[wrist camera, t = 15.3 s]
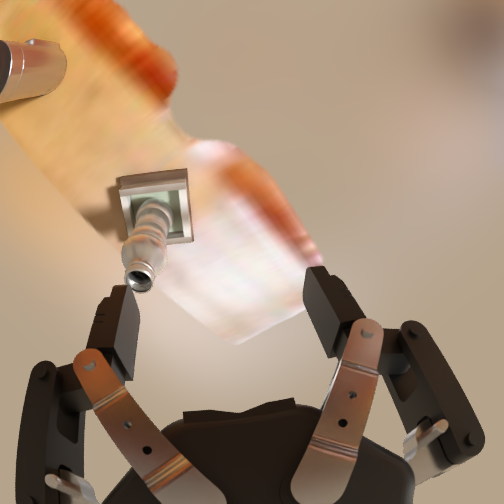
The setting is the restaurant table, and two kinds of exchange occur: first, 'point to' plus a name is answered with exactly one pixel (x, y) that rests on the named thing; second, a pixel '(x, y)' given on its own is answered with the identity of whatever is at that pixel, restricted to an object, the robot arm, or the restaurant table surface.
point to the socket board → (165, 188)
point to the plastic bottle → (147, 245)
